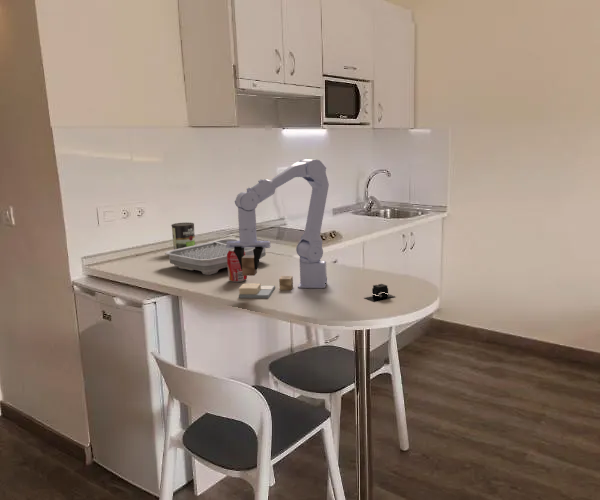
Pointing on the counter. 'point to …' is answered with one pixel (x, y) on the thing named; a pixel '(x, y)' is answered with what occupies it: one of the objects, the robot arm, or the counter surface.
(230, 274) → the soda can
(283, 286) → the oak block
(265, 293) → the plate
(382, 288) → the black brimmed piece
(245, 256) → the walnut block
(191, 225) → the coffee can
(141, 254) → the counter surface
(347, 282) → the counter surface
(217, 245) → the dish rack
